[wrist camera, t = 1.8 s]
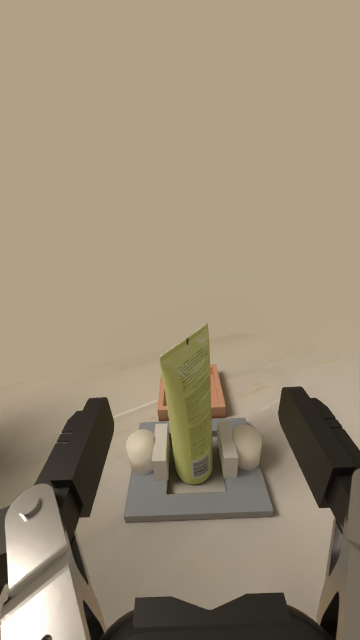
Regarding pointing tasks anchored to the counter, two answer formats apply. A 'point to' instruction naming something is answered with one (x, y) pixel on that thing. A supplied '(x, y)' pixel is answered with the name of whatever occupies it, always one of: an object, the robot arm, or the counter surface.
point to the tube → (190, 405)
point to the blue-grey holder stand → (156, 505)
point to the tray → (216, 397)
